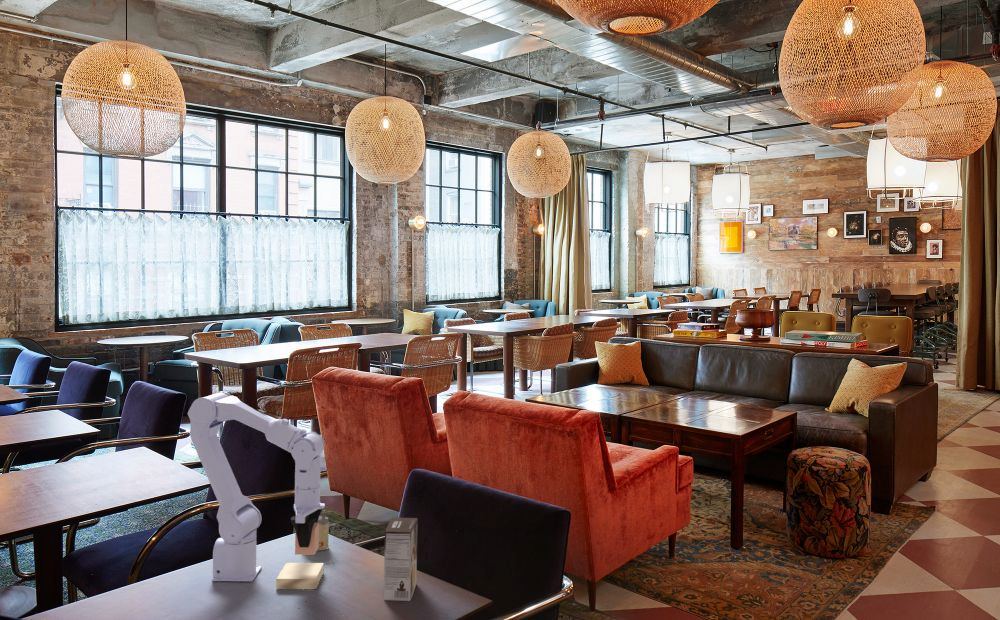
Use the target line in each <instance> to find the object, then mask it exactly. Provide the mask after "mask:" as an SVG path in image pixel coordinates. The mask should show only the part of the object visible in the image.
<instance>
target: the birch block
mask: <svg viewBox="0 0 1000 620" xmlns="http://www.w3.org/2000/svg"><path fill="white" fill-rule="evenodd" d="M324 569H325V567H324V562H286V563H285V564H284V565H283V567H282V569H281V570H280V572H279V574H278V576H277V577H276V578H275V580H276V581H275V583H276V584H275V585H276V587H275V589H303V590H302V591H305V590H304V589H316V588H317V589H318V587H319V584H320V582H321V580H322V578H321V577H323V576H322V575H324V574H323V573H324V572H325V570H324ZM320 579H321V580H320ZM319 581H320V582H319ZM317 586H318V587H317ZM317 589H316V590H317Z"/></svg>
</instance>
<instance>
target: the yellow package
mask: <svg viewBox="0 0 1000 620" xmlns="http://www.w3.org/2000/svg"><path fill="white" fill-rule="evenodd" d="M317 523H319V548H318V549H317V551H325V550H324V549H326V550H328V549H329V548H328V547H330V546H329V536H330V535H329V529H330V527H329V525H330V523H329V516H326V510H325V509H324V510H322V511H321V514H320V516H319V519H318V522H317ZM327 548H328V549H327Z"/></svg>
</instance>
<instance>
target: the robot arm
mask: <svg viewBox="0 0 1000 620" xmlns="http://www.w3.org/2000/svg"><path fill="white" fill-rule="evenodd" d="M187 416H188V418H189V421H190V423H189V424H190V427H189V428H190V429H189V430H190V431H189V434H190V439H191V442H192V444H193V446H194V449H195V451H196V453H197V454H196V455H197V456H198V458H199V461H200V463H201V465H202V467H203V469H204V472H205V475H206V477H207V479H208V482H209V483H210V486H211V488H212V491H213V493H214V496H215V497H216V500H217V502H218V505H219V507H218V511H217V514H216V520H217V522H218V534H219V536H220V537H218V538H217V539H216V541H214V542H215V543H214V545H213V549H212V577H211V581H212V582H253V581H254V579H255V578H257V577H256V576H258V573H260V571H261V570H262V565H257V529H258V528H259V527H260V525H261V524H262V514H261V511H260V510H259V509H258V508H257V507H256V506H255V505H254V504H253V502H252V500H251V498H250V497H248V496H246V495H244V494H243V493H242V491H241V488H240V485H239V484H238V481H237V478H236V477H235V474H234V472H233V469H232V467H231V466H230V463H229V461H228V458H227V456H226V453H225V451H224V448H223V447H222V444H221V442H220V440H219V437H218V433H219V431H220V428H221V426H222V425H223V423H224V422H225V421H231V420H235V421H237V422H239V423H242V424H243V425H246V426H248V427H250V428H253V429H254V430H257V431H259V432H262V433H263V434H264V436H265V440H266V441H268V442H270V443H271V444H274V446H275V445H276V446H277V447H279V448H281V449H283V450H284V451H287V452H288V453H290V454H291V456H292V458H293V460H294V463H295V465H294V467H295V469H294V504H293V510H294V512H295V515H294V516H292V517H291V518H290V523H291V525H292V526H293V528H294V532H295V531H296V534H297V539H298V543H299V547H309V544H310V540H311V534H312V529H313V526H314V523H317V522H318V519H319V516H320V514H321V511H323V509H325V507H326V503H322V502H321V454H322V453H323V451H324V450H325V441H324V439H323V437H322V436H321V435H320V434H319V433H317V432H316V431H309V432H307V430H306V429H305V428H299V427H297V426H295V425H293V424H291V423H290V420H289V419H287V418H283V419H282V418H277V419H275V420H272V419H271V418H269V417H267V416H266V415H265V414H262V413H261V412H259V411H258V410H256V409H254V408H253V407H251V406H249V404H246V403H244V402H243V401H242V400H240V399H239V398H238V396H234V395H231V394H230V393H229V392H227V391H218V392H217V391H216V392H215V393H213V394H210V395H208V396H207V395H206V396H203V397H198V398H197V399H195V400H193V402H192V403H191V406H190V407H189V409H188V412H187Z"/></svg>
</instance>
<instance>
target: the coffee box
mask: <svg viewBox="0 0 1000 620" xmlns="http://www.w3.org/2000/svg"><path fill="white" fill-rule="evenodd" d="M418 519H419V518H418V517H391V518H390V520H389V522H388V524H387V527H386V529H385V531H384V557H383V559H384V560H383V561H384V565H383V566H384V567H383V571H384V572H383V578H384V579H383V600H384V601H397V602H398V601H400V602H401V601H402V602H403V601H404V602H410V601H412V598H413V596H414V592H415V589H416V585H417V575H418V574H417V571H418V570H417V568H418V567H417V566H418V523H419V522H418Z"/></svg>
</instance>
